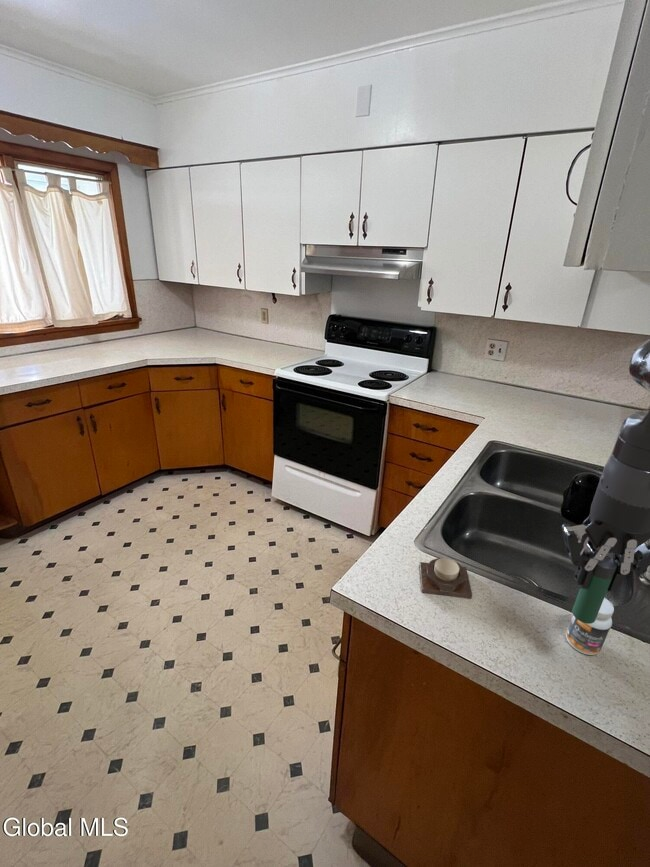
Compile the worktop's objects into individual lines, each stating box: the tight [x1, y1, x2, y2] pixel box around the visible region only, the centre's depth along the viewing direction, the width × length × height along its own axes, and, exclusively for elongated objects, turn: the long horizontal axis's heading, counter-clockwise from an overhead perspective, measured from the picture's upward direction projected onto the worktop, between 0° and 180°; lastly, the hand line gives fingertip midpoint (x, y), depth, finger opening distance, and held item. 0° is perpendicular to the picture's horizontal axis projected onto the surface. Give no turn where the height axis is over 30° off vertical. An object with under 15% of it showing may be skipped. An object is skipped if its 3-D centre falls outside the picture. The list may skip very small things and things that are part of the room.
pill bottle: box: [565, 597, 615, 656], centre depth 76 cm, size 6×6×10 cm
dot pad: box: [434, 557, 459, 581], centre depth 89 cm, size 5×5×2 cm
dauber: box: [571, 555, 617, 624], centre depth 64 cm, size 3×3×11 cm
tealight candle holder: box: [419, 557, 473, 600], centre depth 90 cm, size 10×8×3 cm
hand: (594, 585), depth 64 cm, fingers closed on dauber, 3 cm apart
